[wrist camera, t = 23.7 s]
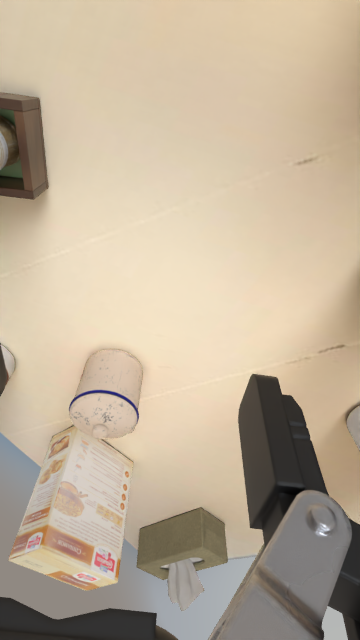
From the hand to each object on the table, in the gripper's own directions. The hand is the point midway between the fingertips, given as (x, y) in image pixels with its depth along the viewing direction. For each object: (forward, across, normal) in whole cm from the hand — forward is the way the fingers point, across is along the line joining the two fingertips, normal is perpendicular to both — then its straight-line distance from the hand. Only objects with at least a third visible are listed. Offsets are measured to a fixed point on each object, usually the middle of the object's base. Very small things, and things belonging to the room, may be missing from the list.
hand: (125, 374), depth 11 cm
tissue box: (+30, -12, +79) cm, 85 cm away
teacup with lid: (+29, +5, +31) cm, 43 cm away
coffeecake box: (+29, +9, +51) cm, 59 cm away
